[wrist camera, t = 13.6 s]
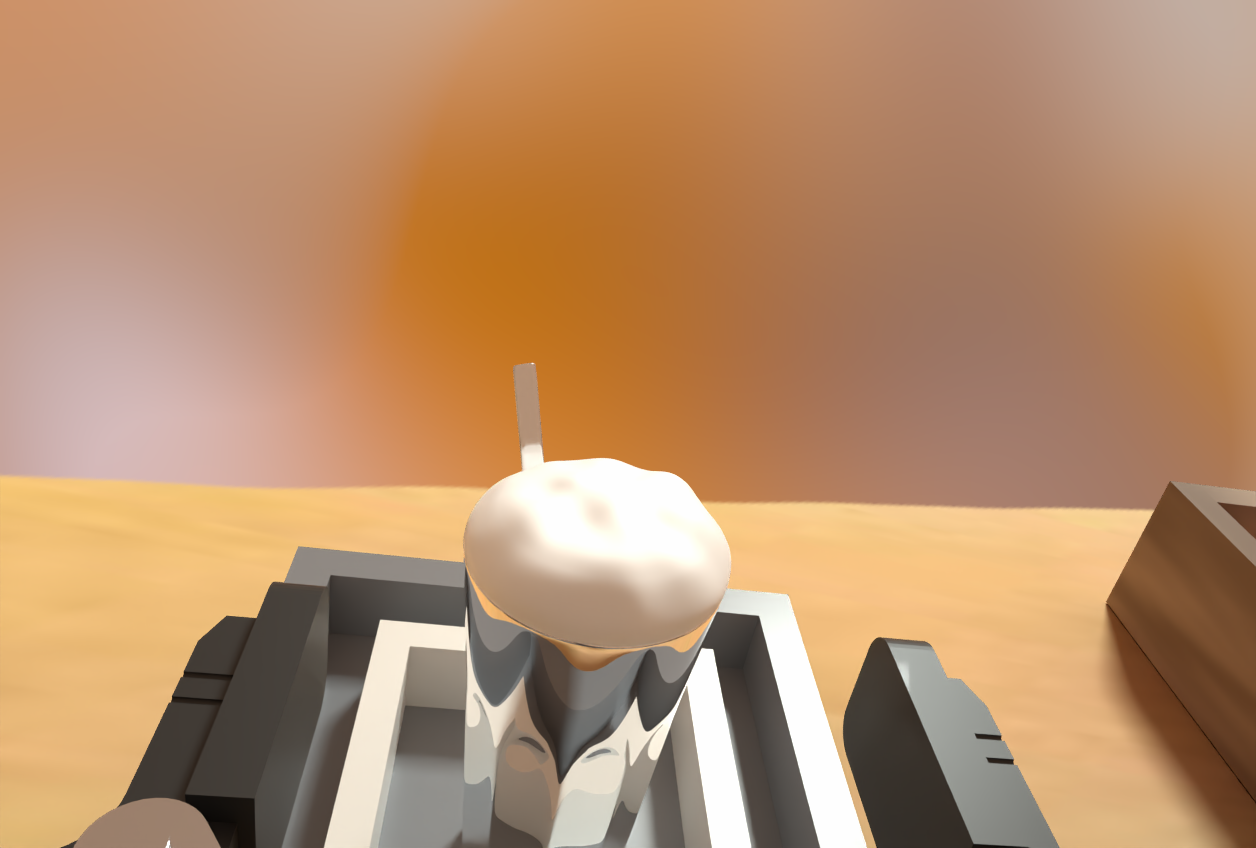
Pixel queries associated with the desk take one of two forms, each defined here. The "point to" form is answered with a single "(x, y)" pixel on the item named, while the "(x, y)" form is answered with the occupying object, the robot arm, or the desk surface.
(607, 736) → the milkshake
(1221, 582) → the tray
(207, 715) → the robot arm
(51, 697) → the desk surface
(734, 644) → the dock box
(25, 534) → the desk surface
